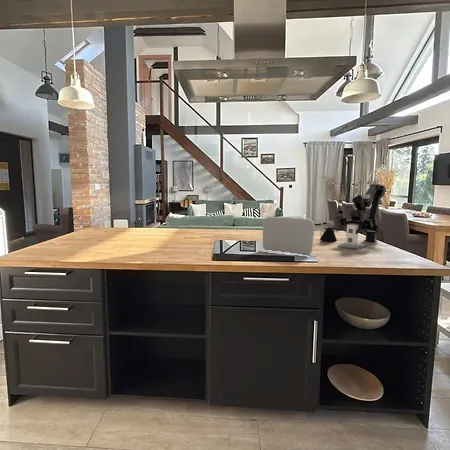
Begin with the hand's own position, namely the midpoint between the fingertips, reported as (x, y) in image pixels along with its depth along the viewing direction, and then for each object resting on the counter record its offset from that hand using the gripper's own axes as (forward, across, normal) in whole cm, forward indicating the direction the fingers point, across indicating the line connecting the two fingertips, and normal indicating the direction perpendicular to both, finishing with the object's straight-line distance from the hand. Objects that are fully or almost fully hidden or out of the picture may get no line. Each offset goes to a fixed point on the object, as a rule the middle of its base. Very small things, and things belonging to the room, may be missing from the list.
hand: (351, 233), depth 196 cm
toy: (-1, -19, +14) cm, 24 cm away
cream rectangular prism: (+5, 0, +7) cm, 8 cm away
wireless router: (+36, -19, -23) cm, 46 cm away
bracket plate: (+3, -1, +10) cm, 10 cm away
